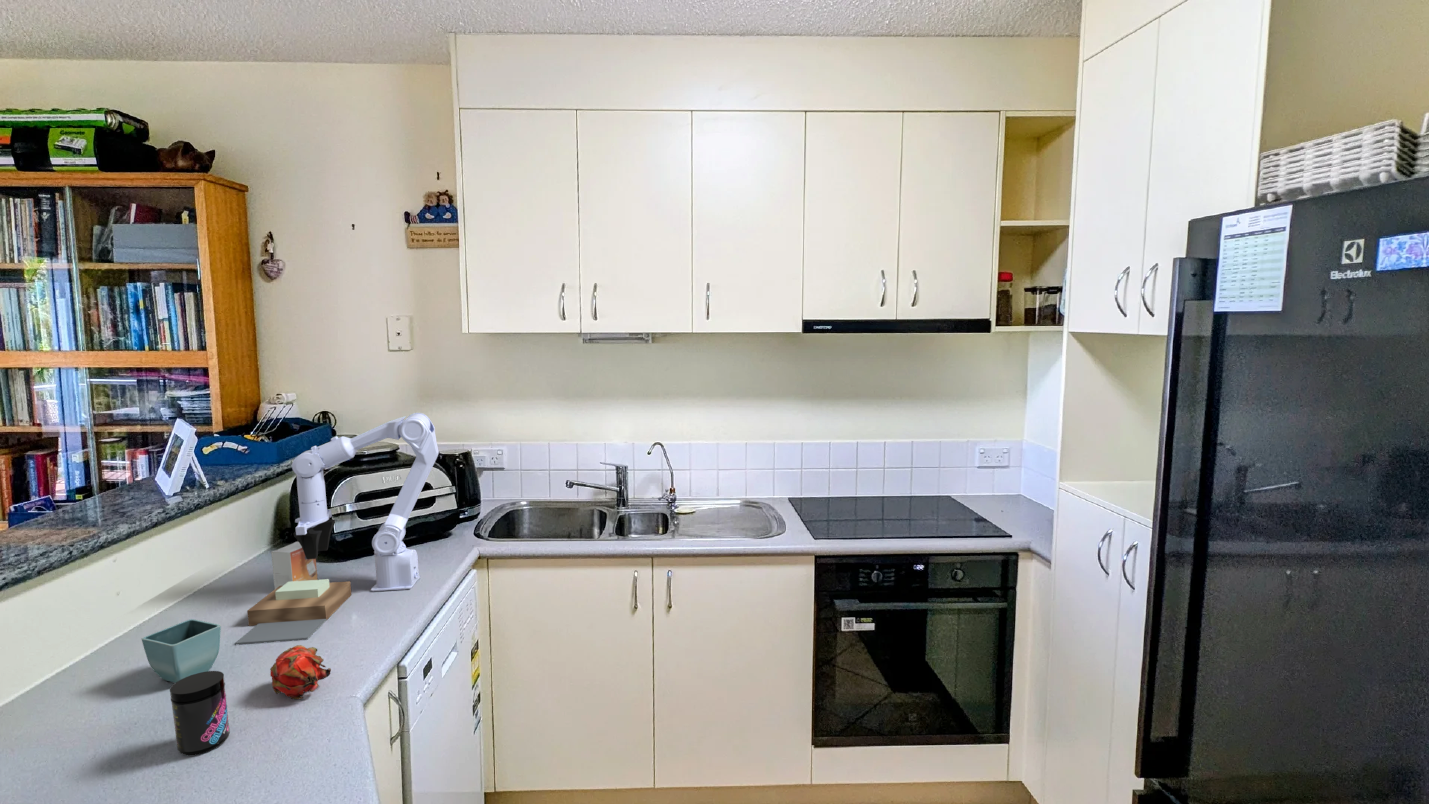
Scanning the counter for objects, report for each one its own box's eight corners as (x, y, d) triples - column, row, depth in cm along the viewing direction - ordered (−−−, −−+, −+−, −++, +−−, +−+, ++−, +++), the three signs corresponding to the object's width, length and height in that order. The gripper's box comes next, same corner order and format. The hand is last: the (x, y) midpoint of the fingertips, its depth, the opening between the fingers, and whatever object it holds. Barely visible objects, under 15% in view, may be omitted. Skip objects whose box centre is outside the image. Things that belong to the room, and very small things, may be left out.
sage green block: (329, 587, 158) (328, 579, 158) (318, 597, 152) (317, 589, 152) (289, 589, 157) (288, 581, 157) (276, 600, 151) (275, 591, 151)
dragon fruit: (291, 684, 125) (317, 716, 118) (247, 676, 119) (271, 709, 111) (319, 642, 127) (346, 670, 120) (278, 631, 121) (303, 661, 114)
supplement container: (194, 762, 101) (186, 697, 99) (167, 751, 103) (159, 688, 102) (240, 736, 107) (233, 675, 106) (214, 727, 110) (207, 667, 108)
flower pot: (227, 668, 128) (222, 624, 127) (177, 692, 120) (172, 645, 119) (195, 661, 131) (190, 618, 130) (145, 684, 123) (139, 638, 122)
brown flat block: (351, 595, 162) (350, 581, 162) (326, 620, 148) (325, 605, 148) (280, 599, 160) (279, 585, 160) (248, 625, 146) (247, 610, 146)
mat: (326, 620, 148) (326, 618, 148) (307, 639, 140) (307, 637, 140) (258, 625, 147) (258, 623, 146) (235, 644, 138) (234, 642, 138)
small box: (293, 594, 163) (289, 552, 162) (274, 592, 165) (270, 551, 163) (318, 581, 171) (315, 542, 170) (300, 580, 172) (296, 540, 171)
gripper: (308, 493, 167) (313, 545, 169) (279, 509, 153) (285, 566, 155) (338, 492, 168) (343, 543, 170) (312, 507, 154) (317, 564, 156)
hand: (317, 554), depth 162 cm, fingers open, 5 cm apart
